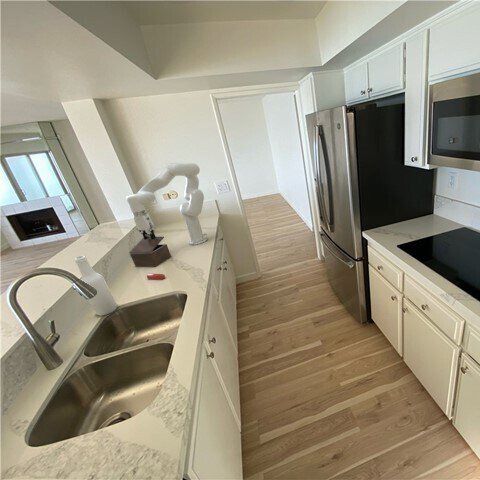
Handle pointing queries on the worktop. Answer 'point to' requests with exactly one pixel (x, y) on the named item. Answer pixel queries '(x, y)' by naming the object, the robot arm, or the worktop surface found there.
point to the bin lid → (146, 245)
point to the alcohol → (97, 288)
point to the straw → (155, 276)
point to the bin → (151, 257)
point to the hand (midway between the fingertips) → (150, 238)
